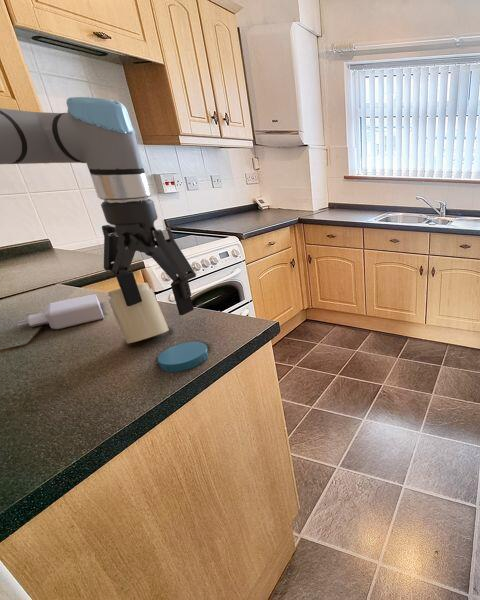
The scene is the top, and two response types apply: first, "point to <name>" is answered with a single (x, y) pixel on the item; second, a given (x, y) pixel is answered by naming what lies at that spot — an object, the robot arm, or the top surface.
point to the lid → (183, 356)
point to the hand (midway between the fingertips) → (160, 308)
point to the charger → (67, 313)
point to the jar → (138, 315)
